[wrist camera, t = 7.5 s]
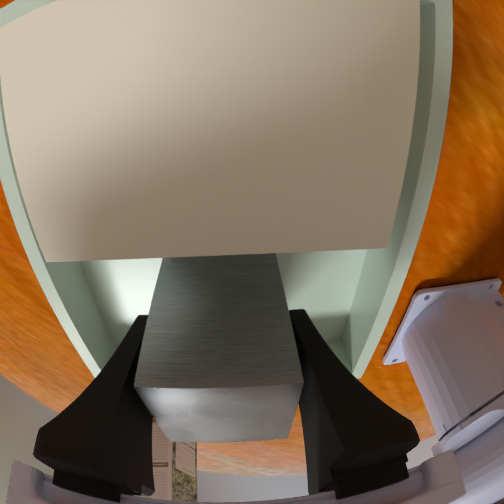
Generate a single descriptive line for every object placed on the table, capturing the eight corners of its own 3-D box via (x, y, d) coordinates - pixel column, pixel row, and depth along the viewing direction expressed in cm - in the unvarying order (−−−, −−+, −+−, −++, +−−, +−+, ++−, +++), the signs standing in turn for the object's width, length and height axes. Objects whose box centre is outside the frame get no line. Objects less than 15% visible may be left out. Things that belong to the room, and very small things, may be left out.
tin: (274, 246, 14) (304, 382, 8) (269, 321, 17) (287, 438, 11) (164, 251, 14) (133, 386, 8) (180, 324, 16) (170, 441, 11)
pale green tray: (403, 0, 8) (451, -8, 5) (346, 336, 19) (360, 377, 17) (31, 21, 7) (-17, 20, 4) (113, 345, 18) (101, 387, 16)
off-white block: (346, 16, 8) (419, -4, 4) (335, 181, 12) (387, 248, 8) (79, 32, 8) (-1, 28, 3) (99, 192, 12) (46, 262, 7)
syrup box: (128, 422, 26) (117, 543, 14) (175, 419, 26) (173, 554, 14) (155, 440, 30) (151, 547, 18) (199, 437, 29) (201, 553, 17)
